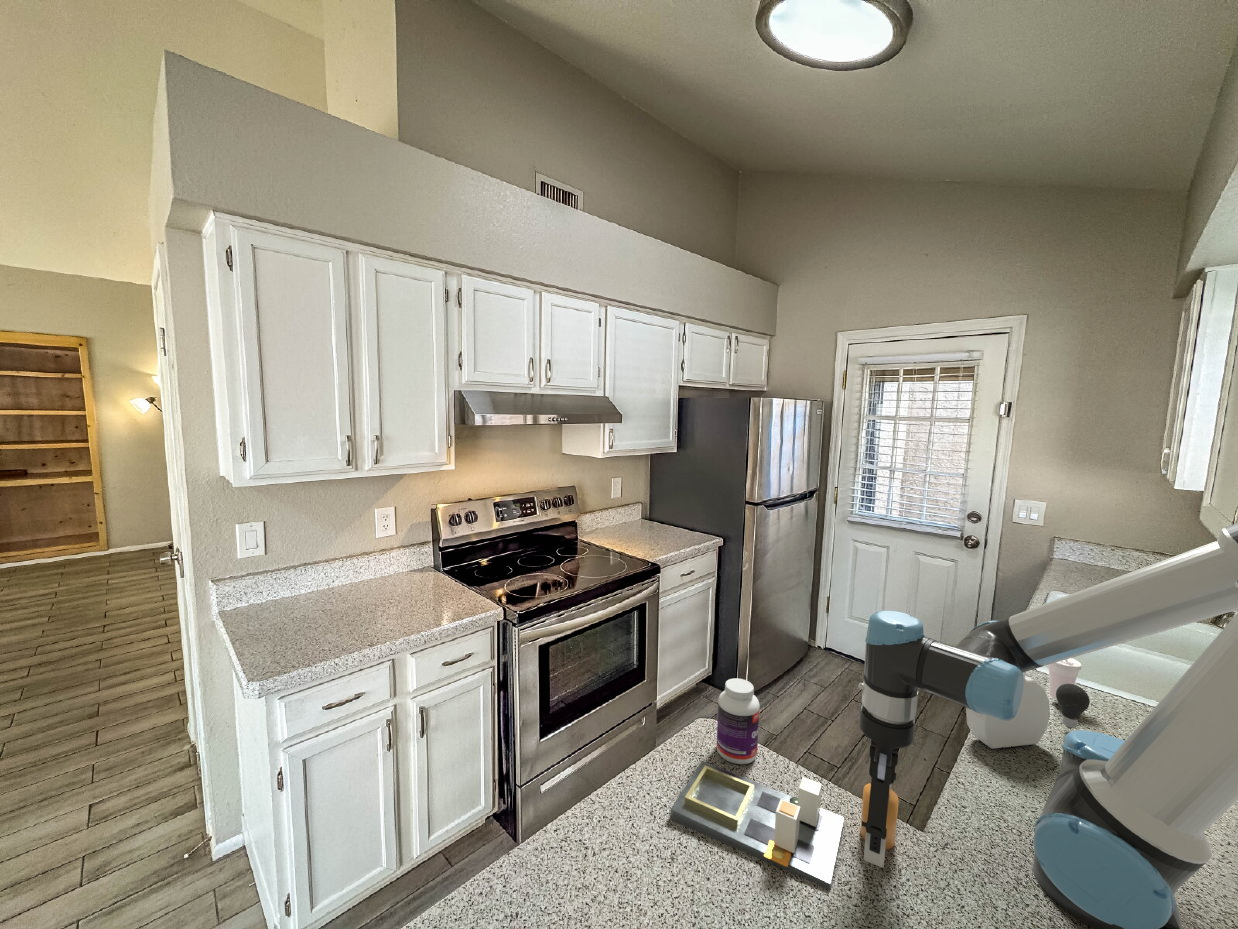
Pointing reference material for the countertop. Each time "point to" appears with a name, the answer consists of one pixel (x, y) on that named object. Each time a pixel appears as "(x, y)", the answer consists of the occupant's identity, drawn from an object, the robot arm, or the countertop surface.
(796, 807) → the block
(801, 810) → the breaker
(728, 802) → the breaker panel
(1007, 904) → the countertop surface
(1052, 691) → the smoothie
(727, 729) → the pill bottle
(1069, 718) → the light bulb
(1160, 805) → the robot arm
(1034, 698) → the soap bottle
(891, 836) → the cap
